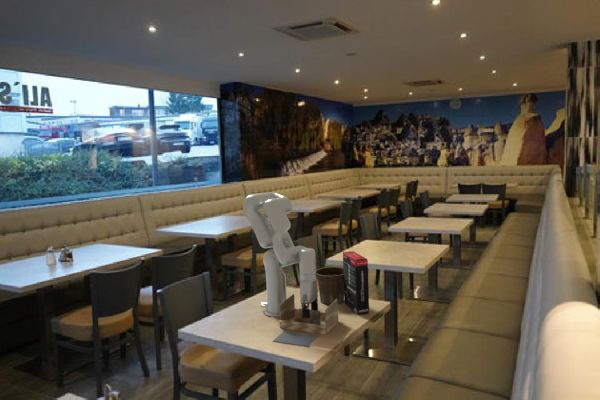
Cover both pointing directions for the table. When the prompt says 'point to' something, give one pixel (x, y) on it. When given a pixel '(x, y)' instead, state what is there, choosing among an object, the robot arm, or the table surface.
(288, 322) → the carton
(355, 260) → the graphics card box
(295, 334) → the rubber mat
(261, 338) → the table surface
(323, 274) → the plant pot
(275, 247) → the robot arm
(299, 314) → the walnut block
